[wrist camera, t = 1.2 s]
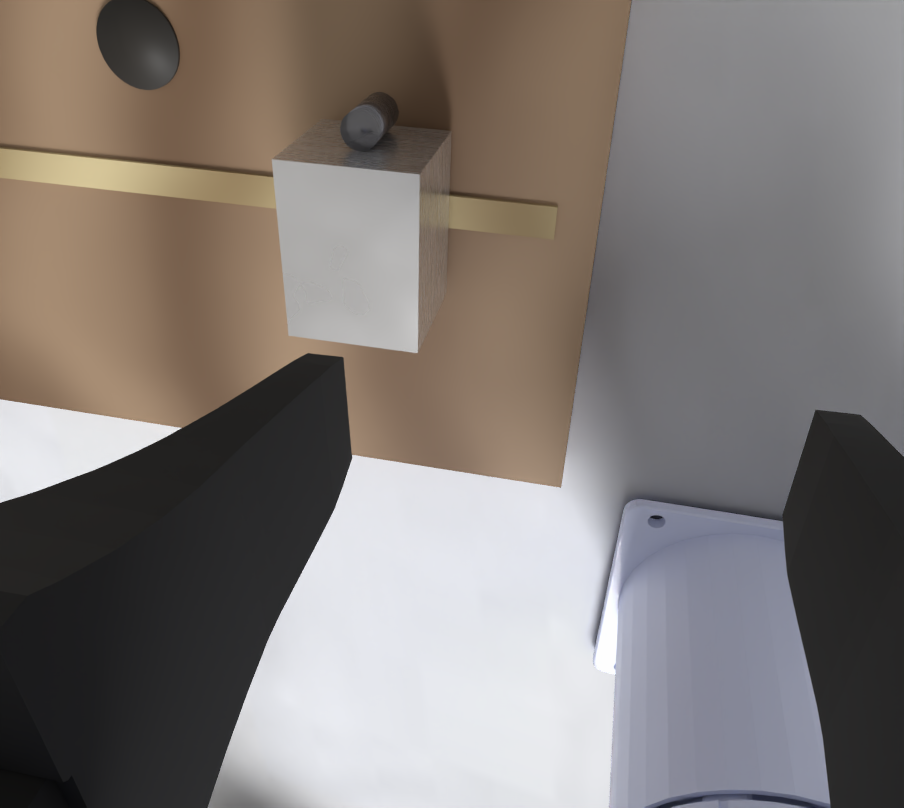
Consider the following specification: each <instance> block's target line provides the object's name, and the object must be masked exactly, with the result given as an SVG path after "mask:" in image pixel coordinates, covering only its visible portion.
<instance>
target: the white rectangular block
mask: <svg viewBox="0 0 904 808" xmlns="http://www.w3.org/2000/svg"><path fill="white" fill-rule="evenodd" d="M398 116H399V110H398V106H397V104H396V102H395V100H394V99H393V98H392V97H391V96H390V95H388V94H386V93H383V92H375V93H372V94H371V95H369V96H368V97H367V98H366V99H364V100H363V101H362V102H361V103H360V104H359V105H357V106H356V107H355V108H354V109H353V110H351V111H350V112H349V113H348V114H347V115H346V116H345V117H344V118H343V119H342V121H339V120H329V119H322V120H320V121H319V122H318V123H317V124H315V125H314V126H313V127H312V128H310V129H309V130H308V131H307V132H305V133H304V134H303V135H302V136H300V137H299V138H298V139H297V140H295V141H294V142H293V143H291V144H290V145H289V146H288V147H286V148H285V149H284V150H283V151H281V152H280V153H279V154H278V155H276V156H275V157H274V158H273V159H272V168H273V178H274V189H275V199H276V210H277V220H278V230H279V241H280V251H281V262H282V272H283V283H284V293H285V303H286V314H287V324H288V335H289V336H295V337H302V338H309V339H317V340H324V341H331V342H339V343H346V344H353V345H361V346H368V347H375V348H383V349H390V350H397V351H405V352H412V353H418V352H419V350H420V348H421V346H422V343H423V341H424V339H425V337H426V335H427V333H428V331H429V329H430V327H431V324H432V322H433V320H434V318H435V316H436V314H437V312H438V310H439V307H440V305H441V303H442V301H443V299H444V297H445V295H446V286H447V254H448V223H449V192H450V160H451V131H446V130H436V129H425V128H414V127H404V126H394V125H395V123H396V122H397V120H398Z"/></svg>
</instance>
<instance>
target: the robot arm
mask: <svg viewBox="0 0 904 808" xmlns="http://www.w3.org/2000/svg"><path fill="white" fill-rule="evenodd" d="M351 460H352V451H351V439H350V427H349V416H348V404H347V392H346V381H345V369H344V358H343V357H338V356H329V355H320V354H311V353H307V354H305V355H303V356H301V357H299V358H298V359H296V360H294V361H292V362H291V363H289V364H288V365H286V366H284V367H283V368H281V369H279V370H278V371H276V372H275V373H273V374H272V375H270V376H268V377H267V378H265V379H264V380H262V381H261V382H259V383H257V384H256V385H254V386H253V387H251V388H249V389H248V390H246V391H245V392H243V393H241V394H240V395H238V396H236V397H235V398H233V399H232V400H230V401H228V402H227V403H225V404H224V405H222V406H220V407H219V408H217V409H215V410H214V411H212V412H210V413H208V414H206V415H205V416H203V417H201V418H199V419H198V420H196V421H194V422H192V423H190V424H189V425H187V426H185V427H183V428H181V429H180V430H178V431H176V432H174V433H173V434H171V435H169V436H167V437H165V438H163V439H161V440H159V441H157V442H155V443H154V444H151V445H149V446H147V447H145V448H143V449H141V450H139V451H137V452H135V453H133V454H130V455H128V456H126V457H124V458H121V459H119V460H117V461H115V462H112V463H110V464H108V465H106V466H103V467H101V468H98V469H96V470H93V471H91V472H88V473H85V474H83V475H80V476H77V477H74V478H72V479H69V480H66V481H64V482H61V483H58V484H56V485H53V486H50V487H47V488H45V489H42V490H39V491H37V492H33V493H30V494H27V495H24V496H21V497H18V498H15V499H11V500H8V501H5V502H2V503H0V808H207V807H208V804H209V801H210V798H211V795H212V792H213V789H214V786H215V783H216V780H217V777H218V774H219V771H220V768H221V765H222V762H223V759H224V756H225V753H226V750H227V747H228V745H229V742H230V739H231V736H232V734H233V731H234V728H235V725H236V723H237V720H238V717H239V714H240V712H241V709H242V706H243V703H244V700H245V698H246V695H247V692H248V690H249V687H250V685H251V682H252V679H253V677H254V674H255V672H256V669H257V667H258V664H259V661H260V659H261V656H262V654H263V651H264V648H265V646H266V643H267V641H268V639H269V636H270V634H271V632H272V630H273V628H274V626H275V623H276V621H277V619H278V617H279V615H280V613H281V611H282V609H283V607H284V605H285V603H286V602H287V600H288V598H289V596H290V594H291V592H292V590H293V588H294V586H295V584H296V582H297V581H298V579H299V577H300V575H301V573H302V571H303V569H304V567H305V565H306V563H307V561H308V559H309V558H310V556H311V554H312V552H313V550H314V548H315V546H316V544H317V542H318V540H319V538H320V536H321V534H322V532H323V530H324V529H325V527H326V525H327V523H328V521H329V519H330V517H331V515H332V513H333V511H334V509H335V506H336V503H337V500H338V498H339V495H340V492H341V489H342V487H343V484H344V481H345V478H346V475H347V472H348V469H349V466H350V463H351ZM653 515H659V516H662V517H663V518H661V519H652V518H650V517H651V516H653ZM593 664H594V666H595V667H596V668H597V669H598V670H600V671H602V672H605V673H610V674H615V690H614V712H613V733H612V755H611V777H610V799H609V808H904V457H903V456H902V455H901V454H900V453H899V452H898V451H897V450H896V449H895V448H894V447H893V446H892V445H891V444H890V443H889V442H888V441H887V440H886V439H885V438H884V437H883V436H882V435H881V434H880V433H879V432H878V431H877V430H876V429H875V428H874V427H873V426H872V425H871V424H870V423H869V422H868V421H867V420H866V419H864V418H863V417H862V416H861V415H857V414H848V413H839V412H830V411H821V410H816V411H815V414H814V417H813V420H812V423H811V427H810V430H809V433H808V436H807V439H806V442H805V446H804V449H803V452H802V455H801V458H800V461H799V465H798V468H797V471H796V474H795V477H794V480H793V484H792V487H791V490H790V493H789V496H788V499H787V503H786V506H785V509H784V512H783V521H778V520H771V519H765V518H759V517H752V516H746V515H740V514H733V513H727V512H721V511H714V510H708V509H701V508H695V507H689V506H682V505H676V504H670V503H663V502H657V501H651V500H644V499H635V500H632V501H630V502H628V503H627V504H626V505H625V507H624V510H623V515H622V520H621V524H620V529H619V534H618V539H617V544H616V548H615V553H614V558H613V563H612V568H611V573H610V577H609V582H608V587H607V592H606V597H605V601H604V606H603V611H602V616H601V621H600V626H599V630H598V635H597V640H596V645H595V650H594V655H593Z"/></svg>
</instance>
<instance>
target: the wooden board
mask: <svg viewBox="0 0 904 808" xmlns="http://www.w3.org/2000/svg"><path fill="white" fill-rule="evenodd" d="M631 1H632V0H0V399H3V400H9V401H15V402H22V403H28V404H34V405H41V406H47V407H53V408H60V409H66V410H72V411H79V412H85V413H91V414H98V415H104V416H110V417H117V418H123V419H129V420H136V421H142V422H148V423H155V424H161V425H168V426H174V427H180V428H183V427H185V426H187V425H189V424H190V423H192V422H194V421H196V420H198V419H199V418H201V417H203V416H205V415H206V414H208V413H210V412H212V411H214V410H215V409H217V408H219V407H220V406H222V405H224V404H225V403H227V402H228V401H230V400H232V399H233V398H235V397H236V396H238V395H240V394H241V393H243V392H245V391H246V390H248V389H249V388H251V387H253V386H254V385H256V384H257V383H259V382H261V381H262V380H264V379H265V378H267V377H268V376H270V375H272V374H273V373H275V372H276V371H278V370H279V369H281V368H283V367H284V366H286V365H288V364H289V363H291V362H292V361H294V360H296V359H298V358H299V357H301V356H303V355H305V354H307V353H311V354H320V355H329V356H338V357H343V358H344V369H345V381H346V392H347V404H348V416H349V427H350V439H351V451H352V455H358V456H364V457H370V458H377V459H383V460H390V461H396V462H402V463H409V464H415V465H421V466H428V467H434V468H440V469H447V470H453V471H459V472H466V473H472V474H478V475H485V476H491V477H497V478H504V479H510V480H516V481H523V482H529V483H535V484H542V485H548V486H554V487H561V484H562V477H563V470H564V463H565V456H566V449H567V442H568V435H569V428H570V422H571V415H572V408H573V401H574V394H575V387H576V380H577V373H578V366H579V359H580V353H581V346H582V339H583V332H584V325H585V318H586V311H587V304H588V297H589V290H590V284H591V277H592V270H593V263H594V256H595V249H596V242H597V235H598V228H599V221H600V214H601V208H602V201H603V194H604V187H605V180H606V173H607V166H608V159H609V152H610V145H611V139H612V132H613V125H614V118H615V111H616V104H617V97H618V90H619V83H620V76H621V70H622V63H623V56H624V49H625V42H626V35H627V28H628V21H629V14H630V7H631ZM375 92H383V93H386V94H388V95H390V96H391V97H392V98H393V99H394V100H395V102H396V104H397V106H398V110H399V116H398V120H397V122H396V123H395V125H394V126H404V127H414V128H425V129H436V130H446V131H451V160H450V192H449V223H448V254H447V286H446V295H445V297H444V299H443V301H442V303H441V305H440V307H439V310H438V312H437V314H436V316H435V318H434V320H433V322H432V324H431V327H430V329H429V331H428V333H427V335H426V337H425V339H424V341H423V343H422V346H421V348H420V350H419V352H418V353H412V352H405V351H397V350H390V349H383V348H375V347H368V346H361V345H353V344H346V343H339V342H331V341H324V340H317V339H309V338H302V337H295V336H289V335H288V324H287V314H286V303H285V293H284V283H283V272H282V262H281V251H280V241H279V230H278V220H277V210H276V199H275V189H274V178H273V168H272V159H273V158H274V157H275V156H276V155H278V154H279V153H280V152H281V151H283V150H284V149H285V148H286V147H288V146H289V145H290V144H291V143H293V142H294V141H295V140H297V139H298V138H299V137H300V136H302V135H303V134H304V133H305V132H307V131H308V130H309V129H310V128H312V127H313V126H314V125H315V124H317V123H318V122H319V121H320V120H322V119H329V120H339V121H342V119H343V118H344V117H345V116H346V115H347V114H348V113H349V112H350V111H351V110H353V109H354V108H355V107H356V106H357V105H359V104H360V103H361V102H362V101H363V100H364V99H366V98H367V97H368V96H369V95H371V94H372V93H375Z"/></svg>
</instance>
